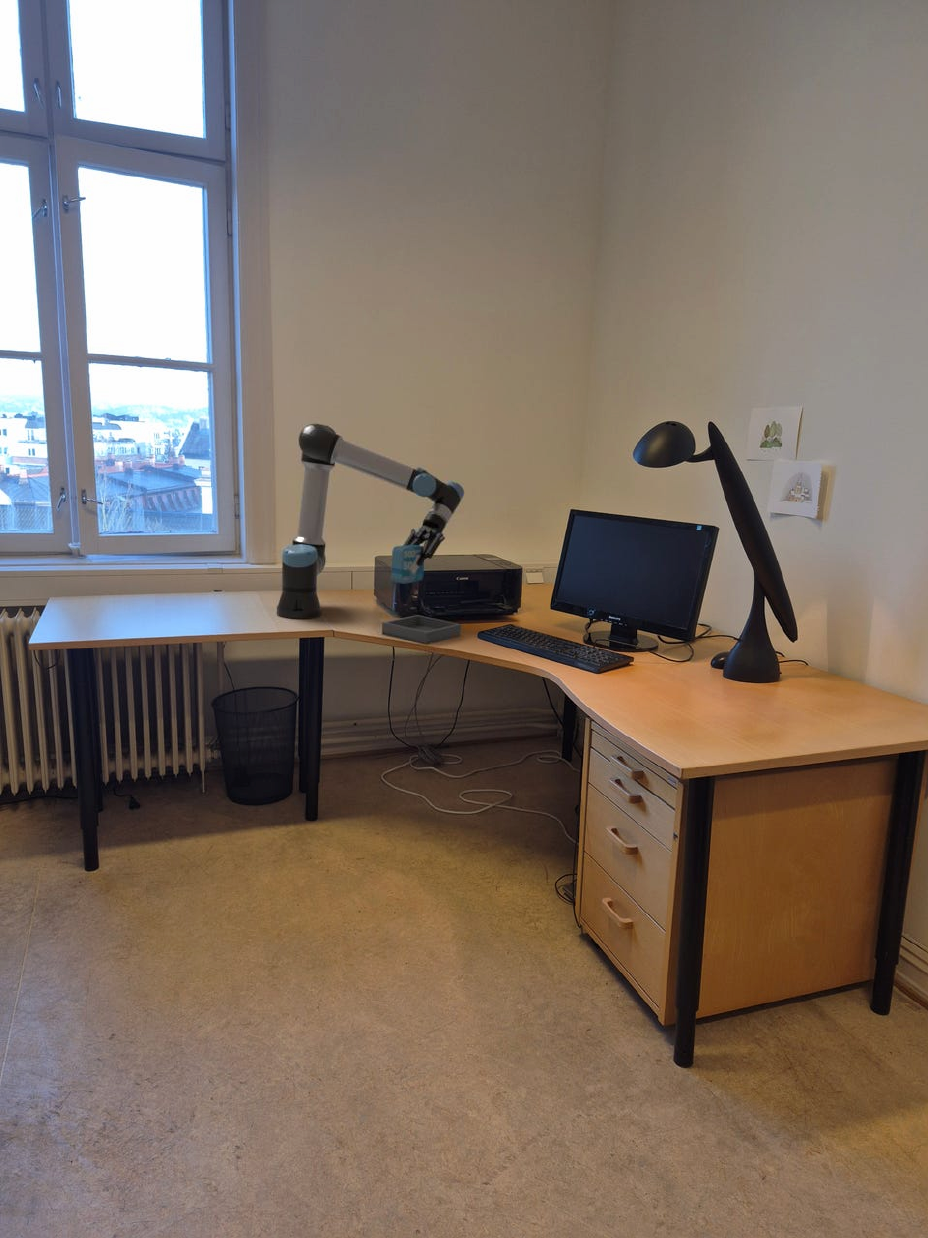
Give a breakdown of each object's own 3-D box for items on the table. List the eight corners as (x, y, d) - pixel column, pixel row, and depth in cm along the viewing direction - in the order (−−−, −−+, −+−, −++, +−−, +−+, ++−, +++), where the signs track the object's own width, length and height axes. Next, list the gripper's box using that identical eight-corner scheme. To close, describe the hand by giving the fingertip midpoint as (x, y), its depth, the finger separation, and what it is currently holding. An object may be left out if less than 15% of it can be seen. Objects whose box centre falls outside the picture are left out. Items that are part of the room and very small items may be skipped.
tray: (381, 634, 242) (382, 622, 241) (417, 626, 256) (417, 615, 255) (426, 644, 232) (426, 632, 231) (460, 635, 246) (461, 624, 245)
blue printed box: (401, 584, 251) (402, 548, 248) (390, 582, 253) (392, 546, 251) (423, 580, 260) (425, 545, 258) (413, 578, 263) (414, 544, 260)
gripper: (461, 529, 263) (430, 581, 253) (421, 524, 272) (390, 574, 262) (453, 514, 257) (421, 567, 247) (412, 509, 267) (380, 560, 257)
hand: (405, 570), depth 255 cm, fingers closed on blue printed box, 4 cm apart
